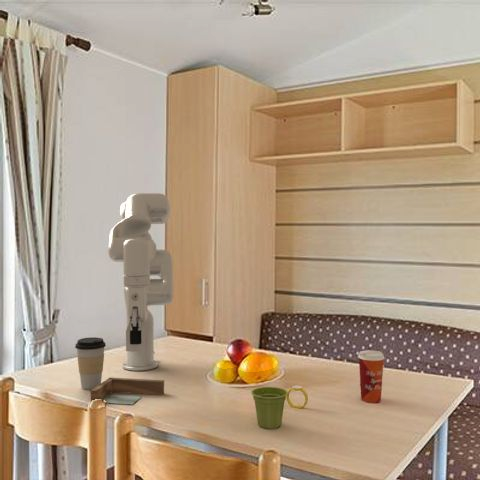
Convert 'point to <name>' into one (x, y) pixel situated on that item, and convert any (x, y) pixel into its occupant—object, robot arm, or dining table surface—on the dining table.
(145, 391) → the corner walls
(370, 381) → the paper cup
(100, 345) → the coffee cup
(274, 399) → the plant pot
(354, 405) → the dining table surface
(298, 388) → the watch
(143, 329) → the white carton
